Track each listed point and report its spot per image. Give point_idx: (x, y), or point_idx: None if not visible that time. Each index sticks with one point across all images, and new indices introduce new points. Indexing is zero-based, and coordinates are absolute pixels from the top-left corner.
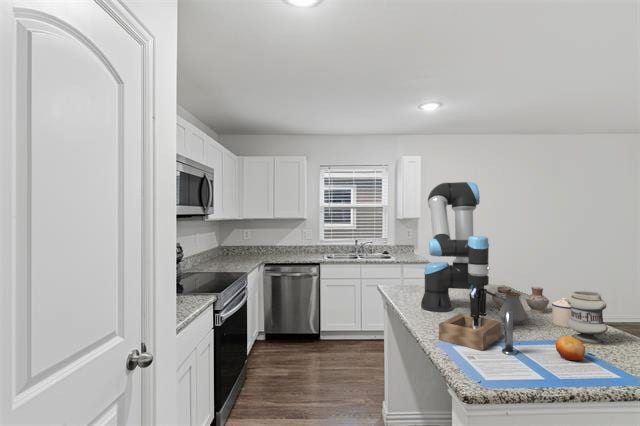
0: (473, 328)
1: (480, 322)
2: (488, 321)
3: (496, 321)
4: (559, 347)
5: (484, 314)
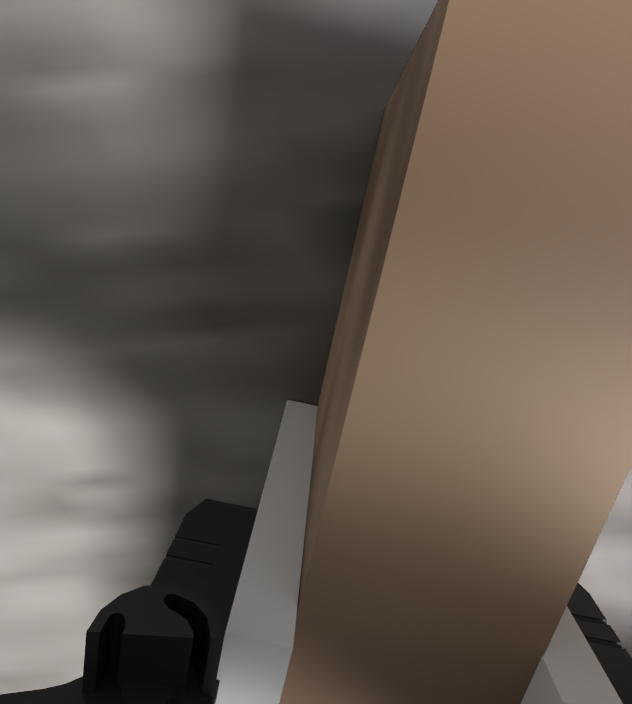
0: None
1: None
2: (629, 430)
3: (587, 149)
4: None
5: (166, 675)
